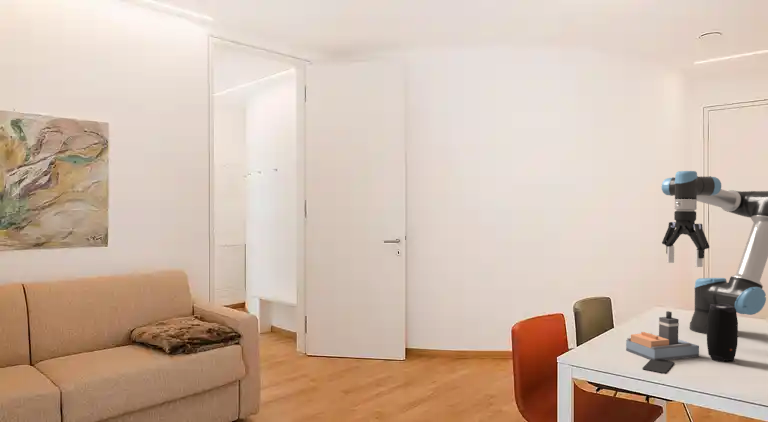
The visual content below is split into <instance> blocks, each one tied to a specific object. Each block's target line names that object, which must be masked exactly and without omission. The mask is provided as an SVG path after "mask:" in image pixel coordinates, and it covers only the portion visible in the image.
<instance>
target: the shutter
mask: <svg viewBox="0 0 768 422" xmlns="http://www.w3.org/2000/svg"><path fill="white" fill-rule="evenodd" d="M630 338H631V341H632V342H635V343H638V344H640V345H643V346H646V347H649V348H651V347H654V346H665V345H669V339H665V338H662V337H659V335H656V334H652V333H649V332H645V331H641V333H632V334H630Z"/></svg>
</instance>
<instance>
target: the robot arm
mask: <svg viewBox="0 0 768 422" xmlns="http://www.w3.org/2000/svg"><path fill="white" fill-rule="evenodd" d="M661 191H662V193H663V194H664V195H666V196H670V197H671V196H674V210H675V211H673V212H674V213H673V215H674V219H673V220H675V221H670V222H668V227H667V230H666V232H665V233H664V234H665V235H664V236H663V238H662V241H661V243H662V245H665V247H666V249H665V251H666V252H665V253H666V257H667V258H666V262H667V264H668V263H669V264H673V263H675V246H674V244H675V243H676V241H677V240H678V239H679V237H680V236H681V235H687V236H688V237H689V238H690V239H691V241H692V243H693V244H694V246H695V247H696V249H695V265H694V266H695V267H694V268H703V265H704V264H703V263H704V261H703V260H704V258H705V250H707V249H710V245H709V242H708V240H707V237H706V234H705V232H704V230H703V224H702V223H695V222H696V221H697V211H696V210H697V209H698V208H697V205H698V204H697V202H700V203H702V204H707V205H711V206H715V207H719V208H721V210H723V211H725V212H728V213H732V214H735V215H738V216H742V217H745V218H750V219H751V221H752V223H753V224H752V226H751V229H750V233H749V235H748V238H747V241H746V243H745V246H744V249H743V252H742V256H741V258H740V260H739V261H740V262H739V263H738V267H737V270H736V273H735V274H734V275H732V276H730V277H729V280H728V281H727V278H725V277H702V278H701V277H700V278H697V279H696V280H695V284H694V312H693V314H692V316H691V319H690V322H689V329H690V330H691V331H693V332H697V333H702V334H706V335H707V318H708V314H709V310H710V304H713V305H715V304H720V303H721V304H729V305H731V306H733V307H735V309H736V314H741V315H748V316H749V315H750V316H752V315H756V314H758V313H759V312H760V311H762V310H763V308H764V307H765V305H766V301H767V297H766V296H767V295H766V292H765V290H764V289H763V287H764V286H763V284H762V282H761V280H762V275H763V273H764V270H765V268H766V264H767V261H768V190H759V191H758V190H757V191H755V190H751V191H750V190H749V191H738V190H733V189H731V190H730V189H729V190H725V189H722V182H721V180H720V179H719V178H717V177H716V176H699V175H698V172H697V171H696V170H681V171H677V172H676V173H675V177H667V178H665V179H664V180H663V181H662V183H661Z"/></svg>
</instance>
